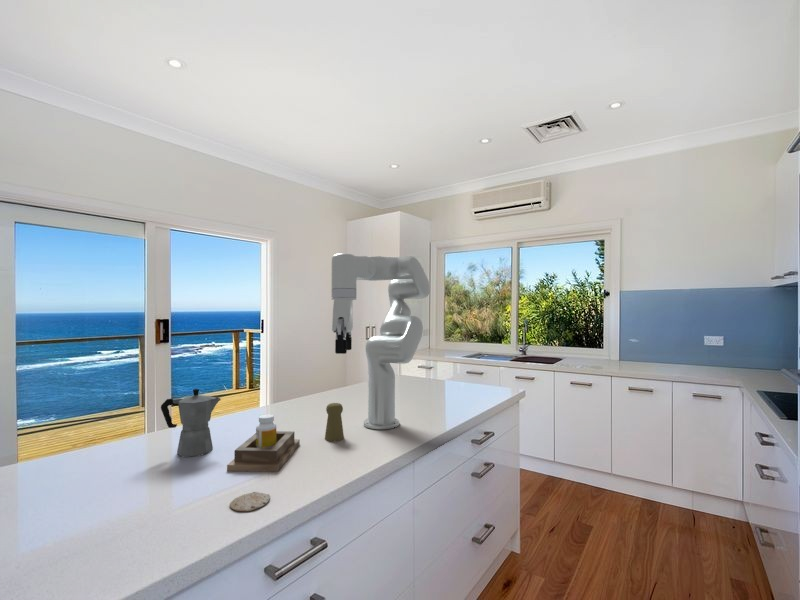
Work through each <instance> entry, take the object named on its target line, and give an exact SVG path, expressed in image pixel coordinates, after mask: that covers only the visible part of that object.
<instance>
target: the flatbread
mask: <svg viewBox="0 0 800 600" xmlns="http://www.w3.org/2000/svg"><path fill="white" fill-rule="evenodd" d="M270 500H271V494H269V493H264V492H261V491H260V492H259V491H252V492H248V493H245V494H242V495H239V496H237V497H235V498H233V500H232V501H230V503H229V507H230V509H232V510H233V511H236V512H252V511H255V510H258V509H260V508H262V507H264V506H266V505H267V504H268V503H269V501H270Z"/></svg>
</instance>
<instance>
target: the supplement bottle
mask: <svg viewBox="0 0 800 600" xmlns="http://www.w3.org/2000/svg"><path fill="white" fill-rule="evenodd" d="M274 419H275V415H274V414H269V413H268V414H262V415H259V417H258V424H257V425H256V426H255V433H256V448H272V447H273V446H274V445H275V444H276V431H277V424H276V422H274V421H275V420H274Z"/></svg>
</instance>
